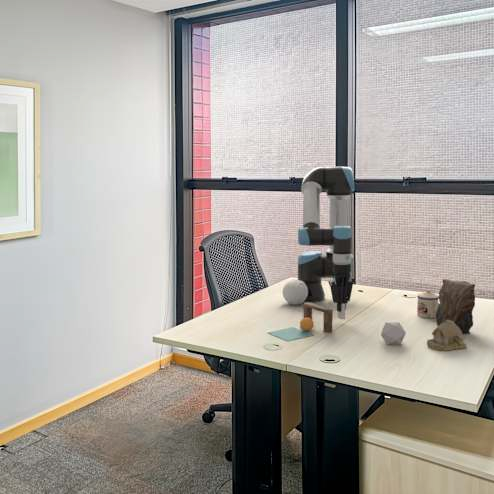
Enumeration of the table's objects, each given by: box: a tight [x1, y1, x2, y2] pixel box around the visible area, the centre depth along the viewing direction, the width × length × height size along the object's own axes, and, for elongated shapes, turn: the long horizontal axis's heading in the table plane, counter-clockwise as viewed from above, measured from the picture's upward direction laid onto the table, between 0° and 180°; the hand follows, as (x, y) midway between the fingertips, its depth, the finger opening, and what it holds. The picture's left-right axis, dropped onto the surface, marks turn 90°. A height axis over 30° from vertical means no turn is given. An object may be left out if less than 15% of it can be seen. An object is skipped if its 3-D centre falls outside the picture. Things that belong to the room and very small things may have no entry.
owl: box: [435, 278, 476, 335], centre depth 221 cm, size 13×13×20 cm
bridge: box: [302, 302, 334, 334], centre depth 227 cm, size 3×14×9 cm, turn 33°
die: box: [380, 321, 407, 346], centre depth 207 cm, size 8×9×10 cm
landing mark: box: [266, 326, 314, 342], centre depth 220 cm, size 13×13×1 cm
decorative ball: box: [282, 279, 308, 306], centre depth 266 cm, size 12×12×12 cm
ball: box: [299, 317, 315, 332], centre depth 224 cm, size 6×6×6 cm
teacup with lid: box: [416, 288, 440, 319], centre depth 242 cm, size 12×9×12 cm
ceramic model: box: [426, 319, 467, 352], centre depth 203 cm, size 14×11×10 cm
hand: (341, 318), depth 235 cm, fingers closed
